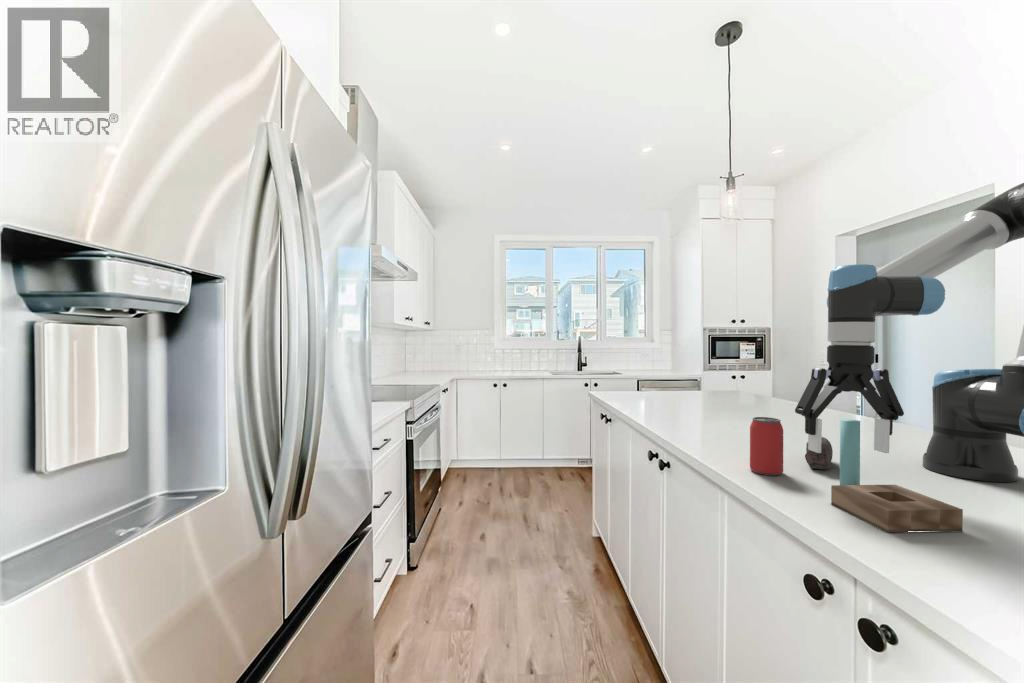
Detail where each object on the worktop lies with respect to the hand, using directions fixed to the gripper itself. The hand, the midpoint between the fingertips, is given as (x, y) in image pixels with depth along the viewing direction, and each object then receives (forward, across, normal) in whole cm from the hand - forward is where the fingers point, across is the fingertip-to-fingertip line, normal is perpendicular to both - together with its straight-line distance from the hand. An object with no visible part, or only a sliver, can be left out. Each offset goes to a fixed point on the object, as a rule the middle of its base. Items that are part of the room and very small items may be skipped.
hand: (848, 451), depth 90 cm
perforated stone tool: (+8, -8, -18) cm, 21 cm away
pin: (+8, 0, 0) cm, 8 cm away
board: (+8, +2, +13) cm, 15 cm away
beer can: (+8, +8, -13) cm, 18 cm away
